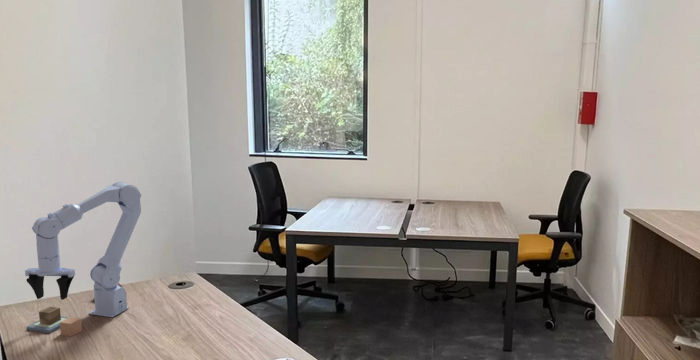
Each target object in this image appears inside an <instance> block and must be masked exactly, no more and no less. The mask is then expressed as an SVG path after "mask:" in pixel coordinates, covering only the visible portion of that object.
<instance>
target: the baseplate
mask: <svg viewBox="0 0 700 360" xmlns="http://www.w3.org/2000/svg"><path fill="white" fill-rule="evenodd" d="M69 317H70V316H69ZM69 317H68V316H62V315H61V320H60V321H58V322H56V323H54V324H52V325H46V324H40V319H39V320H37V321H35V322H33V323H31V324H29V325H27V326H26V330H28V331H32V330H34V331H33V332H38V331H40V333H43V334H44V333H45V334H52V333H53V332H56V331H57V330H60V322H61V321H63V320H65V319H67V318H69Z"/></svg>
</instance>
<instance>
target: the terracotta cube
mask: <svg viewBox="0 0 700 360" xmlns="http://www.w3.org/2000/svg"><path fill="white" fill-rule="evenodd" d="M82 326H83V325H82V318H80V317H74V316H69V318H67V319H65V320H63V321H61V322H60V329H59V331H60V335H62V336H66V337H67V336H69V337H72V336H75V335H76V334H78V333H80V332H82V331H83V329H82V328H83V327H82Z"/></svg>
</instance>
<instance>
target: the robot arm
mask: <svg viewBox="0 0 700 360" xmlns="http://www.w3.org/2000/svg"><path fill="white" fill-rule="evenodd" d="M141 197H142V193H141V192H140V190H139V188H138V187H137V186H135V185H133V184H127V183H125V182H122V181H118V182H115V183H113V184H111V185H108V186H106V187H105V188H102V189H101V190H99V191H98V192H96V193H95V194H93V195H91V196H90V197H88V198H86V199H85V200H82V201H81V202H79V203H78V204H73V203H70V204H68V203H66V204H63V205H62V208H60V209H58V210H56V211H54V212H52V213H51V212H49V213H48V214H47V216H42V217H39V218H37V219H36V220H35V222H33V226H31V230H32V231H33V233H34V234H35V235H36V237H35V238H36V254H37V263H38V264H37V265H38V267H32V268H31V267H30V268H27V269H25V270H24V274H25V275H24V276H25V277H27V278H26V279H25V280H26V283H27V284H29V286H30V287H31V288H32V290H33V292H34V294H35V297H36V300H40V299H43V297H44V295H45V294H44V293H45V292H44V281H45V277H58V278H57V279H55V280H56V283H57V285H58V289H59V295H60V296H59V297H60V300H62V301H63V300H66V299H67V298H68V295H69V294H68V293H69V290H70V286H71V283H72V281H73V279H74V277H75V276H76V269H74V268H66V267H62V266H61V259H60V258H61V257H60V246H59V245H60V244H59V239H58V238H59V237H58V236H59V234H60V232H61V230H64V229H66V228H68V227H69V226H71V225H72V224H74V223H77V222H78V221H81V219H82V218H83V215H84V214H85V213H87V212H89V211H91V210H94V209H95V208H98V207H99V206H102V205H104V204H105V203H117V205H119V208H120V209H121V211H122V214H121V216H120V218H119V221H118V223H117V225H116V227H115V230H114V232H113V235H112V236H111V239H110V241H109V244H108V246H107V249H106V250H105V253H104V255H103V256H102V257H100V258H99V259H98V261H97V263H96V265H94V266H93V267H92V269H91V270H90V274H89V276H90V279H91V280H92V281H93V283H94V285H93V294H94V295H93V297H94V298H93V299H94V309H93V310H90V311H89V312H88V314H89V315H95V316H99V317H100V316H102V317H106V318H114V317H115V316H117V315H119V314H121V313H123V312H125V311H126V310H129V306H128V303H127V290H126V289H125V288H124V287H123V286H122V287H123V288H122V287H120V286H119V285H118V283H119V284H120V281H121V271H122V268H123V267H122V262H121V260H122V258H123V256H124V253H125V251H126V249H127V246H128V245H129V241H130V239H131V237H132V235H133V232H134V229H135V227H136V225H137V222H138V221H139V218H140V215H141V213H142V205H141Z"/></svg>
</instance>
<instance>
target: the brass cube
mask: <svg viewBox="0 0 700 360" xmlns="http://www.w3.org/2000/svg"><path fill="white" fill-rule="evenodd" d="M38 316H39V317H38V318H39V320H40V324H46V325H52V324H54V323H56V322H58V321H60V320H61V316H62V315H61V307H56V306H48V307H45V308H44V309H41V310H39V311H38Z"/></svg>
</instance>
